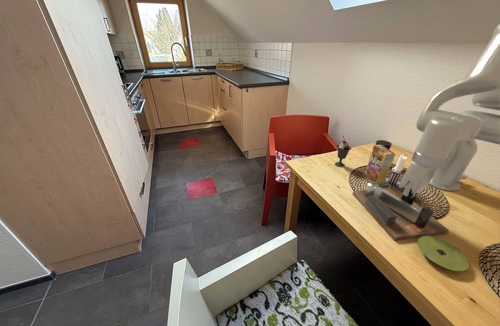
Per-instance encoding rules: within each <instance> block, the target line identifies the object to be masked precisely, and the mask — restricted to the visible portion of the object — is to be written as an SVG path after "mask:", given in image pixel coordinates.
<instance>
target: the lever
mask: <svg viewBox="0 0 500 326" xmlns="http://www.w3.org/2000/svg"><path fill="white" fill-rule="evenodd" d="M364 190H365V191H364V193H365V194H366V195H367V196H368V195H376V196H377V197H378V198H379V199H380V200H381V201H382V202H383V203H384V204H385V205H386V206H388V207H390V208H391V209H393V210H394V211H396V212H397V213H399V214H401V215H402V216H404V217H405V218H407V219H409V220H410V221H412V222H413V223H415V225H416V226H418V227H420V228H425V226H426V225H427V223H428V221H429V220H430V218H431V216H432V217H433V215H434V213H435V211H434V210H432V208H430V207H427V206H425V207H421V208H422V210H419V209H418V208H416V207H414V206H412V205H411V204H409V203H407V202H405V201H404V200H402V199H400V198H398V197H397V196H395V195H393V194H391V193H390V192H388V191H386V190H384V189H383V188H382V187H381V186H380V184H377V183H376V182H373V181H372V180H370V181H368V182H367V183H366V186H365V189H364Z"/></svg>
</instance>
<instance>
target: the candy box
mask: <svg viewBox="0 0 500 326" xmlns="http://www.w3.org/2000/svg"><path fill="white" fill-rule="evenodd" d="M395 157H396V153H394V151H392V150H391V149H390V150H389V149H387V148H386V147H385V146H384V145H375V144H374V145H373V147H372V151H371V153H370V156H369V161H368V163H367V167H366V169H365V172H364V174H365V175H366V176H367V177H368V178H369V179H370V181H372V182H376V183H377V184H378V185H382V184H381V183H385V181H386V179H387V176H388V174H389V172H390V169H391V168H392V167H391V166H392V165H393V161H394V158H395Z"/></svg>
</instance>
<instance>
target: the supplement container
mask: <svg viewBox="0 0 500 326" xmlns="http://www.w3.org/2000/svg"><path fill="white" fill-rule="evenodd" d="M374 145H384V146H385V147H386V148H387V149H389V150H390V151H391V147H392V142H390V141H387V140H382V139H378V140H376V142H375V144H374Z"/></svg>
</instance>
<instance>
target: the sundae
mask: <svg viewBox="0 0 500 326" xmlns="http://www.w3.org/2000/svg"><path fill="white" fill-rule="evenodd" d="M342 138H343V140H342V142H339V144H337V145H336V148H337V157H338V159H339V161H336V162H334V166H336V167H338V168H344V167H345V166H346V164H345V163H343V160H345V159H346V158H347V156H348V154H349V152H350V151H351V150H352V147H351V146H349V143H348V142H347V141H346V140H345V139H346V138H345V136H342Z"/></svg>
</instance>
